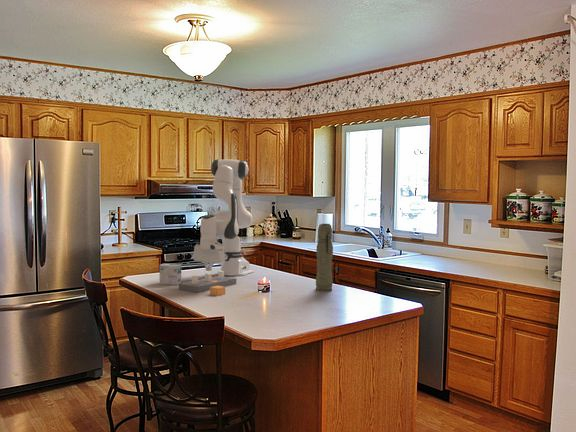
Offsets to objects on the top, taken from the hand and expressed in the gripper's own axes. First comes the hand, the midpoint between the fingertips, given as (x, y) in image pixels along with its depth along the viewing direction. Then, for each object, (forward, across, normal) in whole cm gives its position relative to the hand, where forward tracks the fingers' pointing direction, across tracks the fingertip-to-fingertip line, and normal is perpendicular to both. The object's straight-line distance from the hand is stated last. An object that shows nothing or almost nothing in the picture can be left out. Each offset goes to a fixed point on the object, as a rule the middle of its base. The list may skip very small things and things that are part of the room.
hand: (208, 270), depth 283 cm
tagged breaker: (+6, 0, 0) cm, 6 cm away
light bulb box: (+9, -22, -7) cm, 25 cm away
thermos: (+9, +53, +33) cm, 63 cm away
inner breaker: (+6, 0, +10) cm, 12 cm away
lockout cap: (+9, +17, -11) cm, 22 cm away
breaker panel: (+9, 0, 0) cm, 9 cm away
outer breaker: (+6, 0, -10) cm, 11 cm away
